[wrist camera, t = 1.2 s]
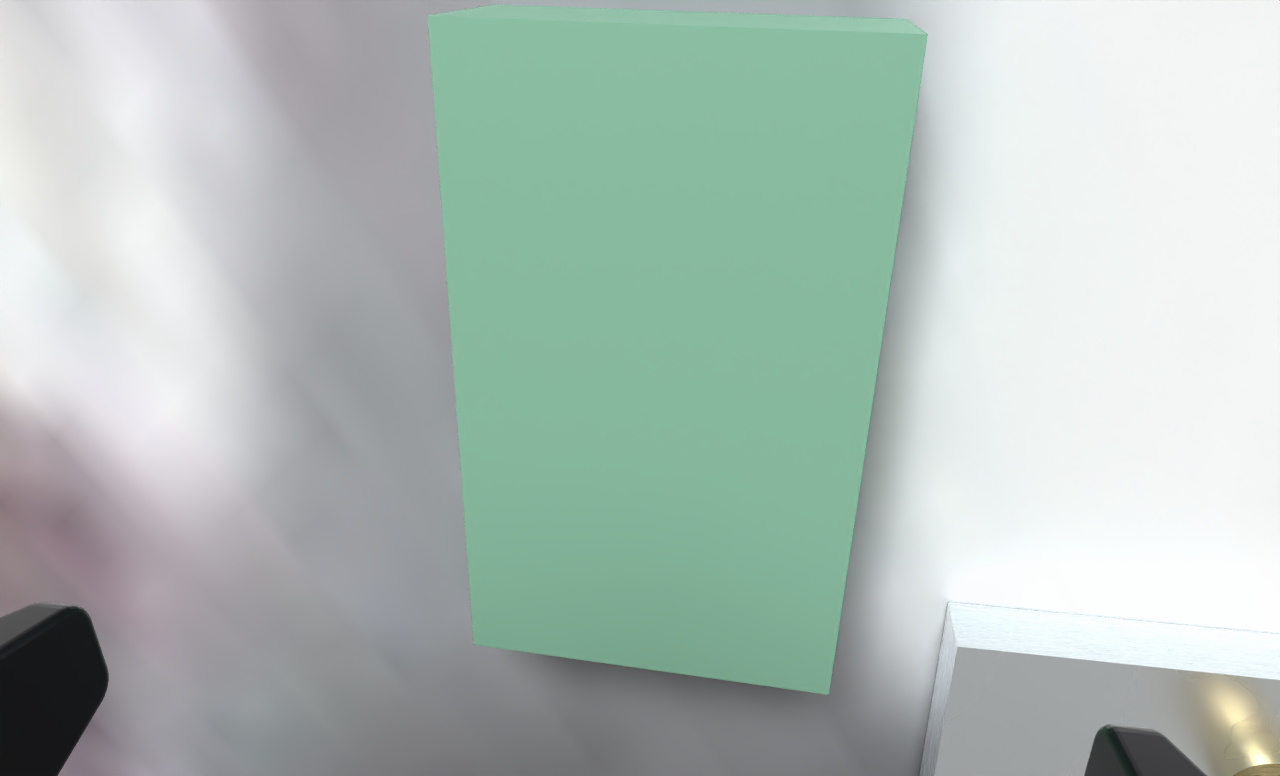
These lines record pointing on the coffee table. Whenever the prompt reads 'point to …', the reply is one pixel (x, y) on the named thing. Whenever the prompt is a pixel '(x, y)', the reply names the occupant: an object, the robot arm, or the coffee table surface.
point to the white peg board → (1097, 692)
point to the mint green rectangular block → (667, 322)
